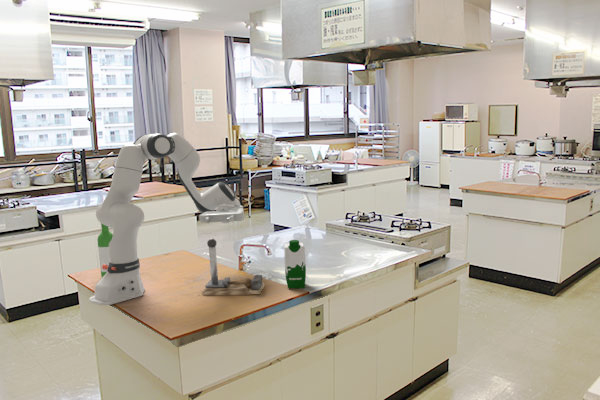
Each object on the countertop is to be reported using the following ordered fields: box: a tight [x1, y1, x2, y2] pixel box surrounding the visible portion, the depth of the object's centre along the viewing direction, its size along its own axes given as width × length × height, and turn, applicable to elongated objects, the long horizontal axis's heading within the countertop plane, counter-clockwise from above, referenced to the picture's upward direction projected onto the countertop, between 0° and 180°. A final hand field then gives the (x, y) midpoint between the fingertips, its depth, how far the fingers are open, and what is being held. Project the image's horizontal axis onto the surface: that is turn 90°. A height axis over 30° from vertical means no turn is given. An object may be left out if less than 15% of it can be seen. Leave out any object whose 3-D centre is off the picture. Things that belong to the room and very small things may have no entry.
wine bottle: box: [97, 223, 113, 279], centre depth 233 cm, size 8×8×30 cm
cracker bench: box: [201, 274, 265, 296], centre depth 207 cm, size 24×10×6 cm, turn 84°
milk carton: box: [283, 239, 307, 290], centre depth 208 cm, size 9×9×20 cm
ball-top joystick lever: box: [205, 238, 231, 288], centre depth 206 cm, size 9×7×21 cm
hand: (217, 220), depth 216 cm, fingers open, 8 cm apart
